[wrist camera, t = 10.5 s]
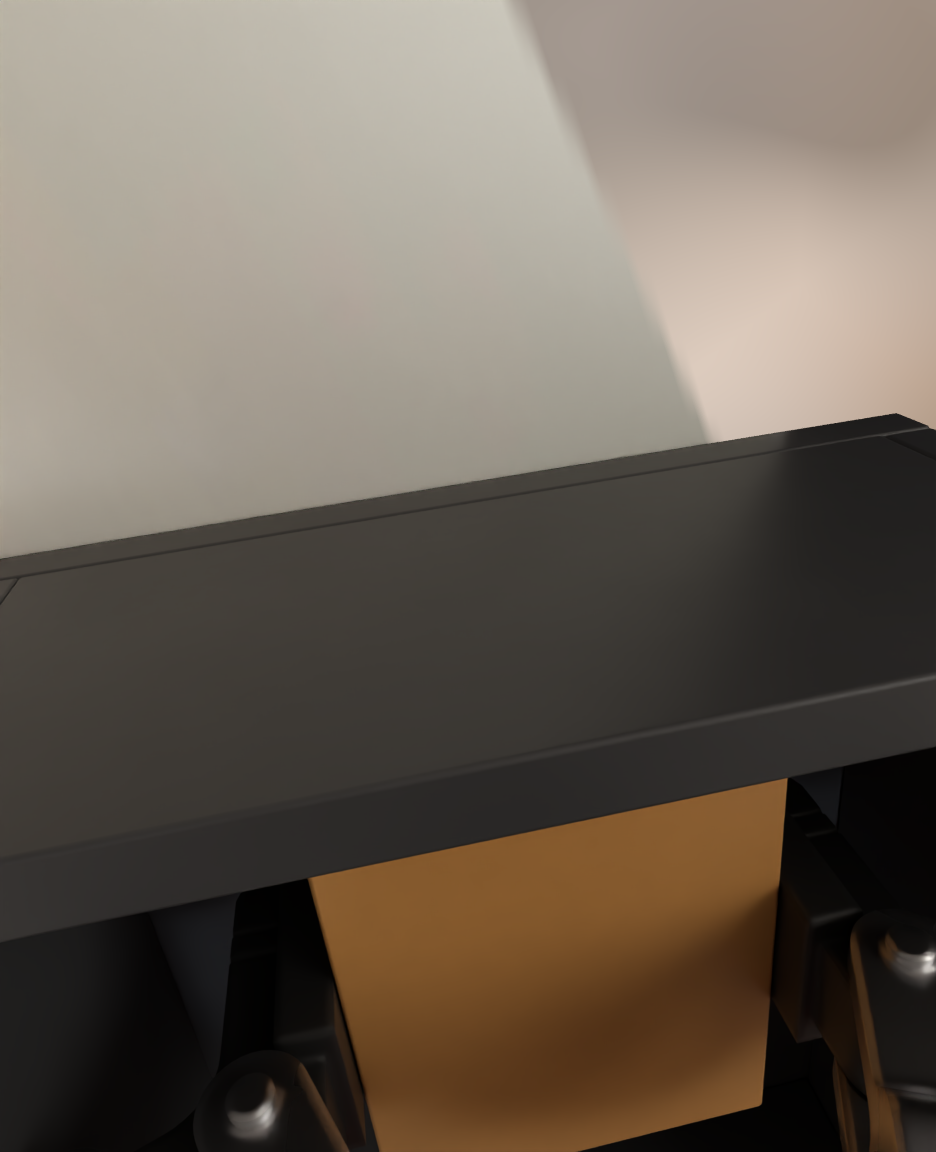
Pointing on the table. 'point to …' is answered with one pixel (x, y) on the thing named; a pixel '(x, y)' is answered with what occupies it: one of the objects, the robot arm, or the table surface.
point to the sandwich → (563, 977)
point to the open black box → (440, 728)
